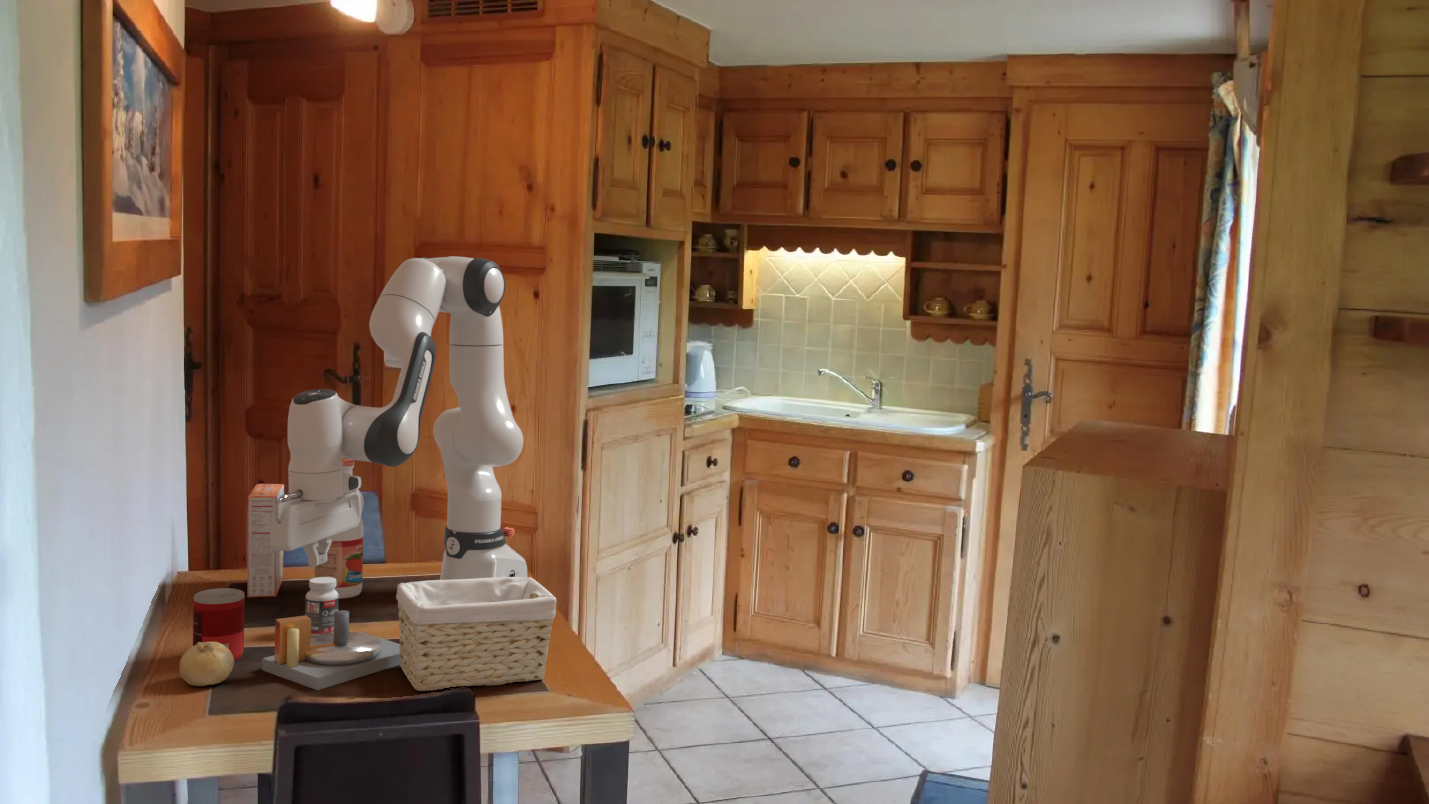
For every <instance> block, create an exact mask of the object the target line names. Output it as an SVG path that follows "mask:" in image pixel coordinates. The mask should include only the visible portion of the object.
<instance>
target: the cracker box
mask: <svg viewBox="0 0 1429 804" xmlns="http://www.w3.org/2000/svg"><path fill="white" fill-rule="evenodd" d="M284 494H285V484H283V483H258V484H257V483H256V484H255V486H254V488H253V489H252V490H251V492H250V494H249V495H248V497H247V559H246V560H247V561H246V562H247V565H246V567H247V571H246V572H247V573H246V574H247V576H246V577H247V578H246V579H247V584H246V585H247V587H246V588H247V590H246V591H247V592H246V593H247V594H246V595H247V596H246V597H247V598H250V599H251V598H253V599H254V598H276V597H277V596H278V593H279V590H280V588H281V585H282V582H283V580H284V551H280V550H275V549H273V547H272V546H271V544H270V531H271V520H272V513H273V510H274V507H275V504H276V503H277V501H278V500H279V499H280V496H282V495H284ZM280 502H282V501H280Z"/></svg>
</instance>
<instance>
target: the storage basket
mask: <svg viewBox="0 0 1429 804" xmlns="http://www.w3.org/2000/svg"><path fill="white" fill-rule="evenodd" d="M396 589H397V591H396V595H395V598H396V600H397V608H398V610H399V611H398V621H399V624H398V628H399V644H400V665H399V666H400V668H401V669H402V670H401V671H402V672H403V673H404V675H405V676H406V678H407V680H408V682H410V684H411V686H412V687H413V689H414V690H415V691H419V692H425V691H427V692H428V691H438V689H439V690H443V689H444V688H449V687H456V686H467V687H471V686H477V687H478V686H479V687H481V686H501V685H505V684H512V683H515V682H518V683H519V682H522V683H525V682H530V681H539V680H543V679H544V678H545V674H546V673H545V670H546V663H547V658H548V653H549V645H550V639H551V631H552V625H553V623H554V619H555V617H556V611H557V609H556V608H557V598H556V596H554V595H553V594H552V593H551V592H550V591H549V590H548V589H546V587H545V586H543V585H542V584H541V583H539V582H538V581H536V580H535V579H534V578H532V577H531V576H529V577H528V576H527V578H521V577H496V578H476V579H455V580H440V579H434V580H433V579H432V580H429V579H428V580H420V581H409V582H400V583H398V584H397V586H396ZM524 681H525V682H524ZM449 689H450V688H449ZM444 690H445V689H444Z"/></svg>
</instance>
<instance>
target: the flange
mask: <svg viewBox="0 0 1429 804" xmlns="http://www.w3.org/2000/svg"><path fill="white" fill-rule="evenodd" d="M274 621H275V623H274V655H275V657H274V660H275V661H276V662H277V663H278V664H284V663H287V630H288V629H290V628H298V629H299V660H298V661H303V660H305V661H308V662H311V663H316V664H322V665H347V664H355V663H360V662H365V661H368V660H371V659H373V658H375V657H377V656H378V655H379V654H380V653H381V641H380V639H379V638H380V637H379V638H377V637H378V636H376V635H372V634H368V633H366V634H365V632H363V633H358V632H355V631H349V639H348V643H347V644H343V645H337V644H334V643H333V639H334V633H326V634H320V635H316V636H311V619H310V618H309V617H308V616H307V615H305V614H304V615H299V616H292V617H291V616H290V617H285V618H284V617H282V618H275V620H274Z"/></svg>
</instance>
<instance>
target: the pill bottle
mask: <svg viewBox="0 0 1429 804" xmlns="http://www.w3.org/2000/svg"><path fill="white" fill-rule="evenodd" d="M308 587H309V589H310V590H309V591H307V593H306V594H305V602H304V603H305V605H304V606H305V607H304V609H305V610H304V616H305V615H307V616H308V617H309V618H310V619H311V637H313V636H316V635H320V634H326V633H334V612H335V611H339V599H338V598H339V597H338V593H337V591H335V587H336V579H335V578H332V577H317V578H314V577H313V578H311V579H309V582H308Z"/></svg>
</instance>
